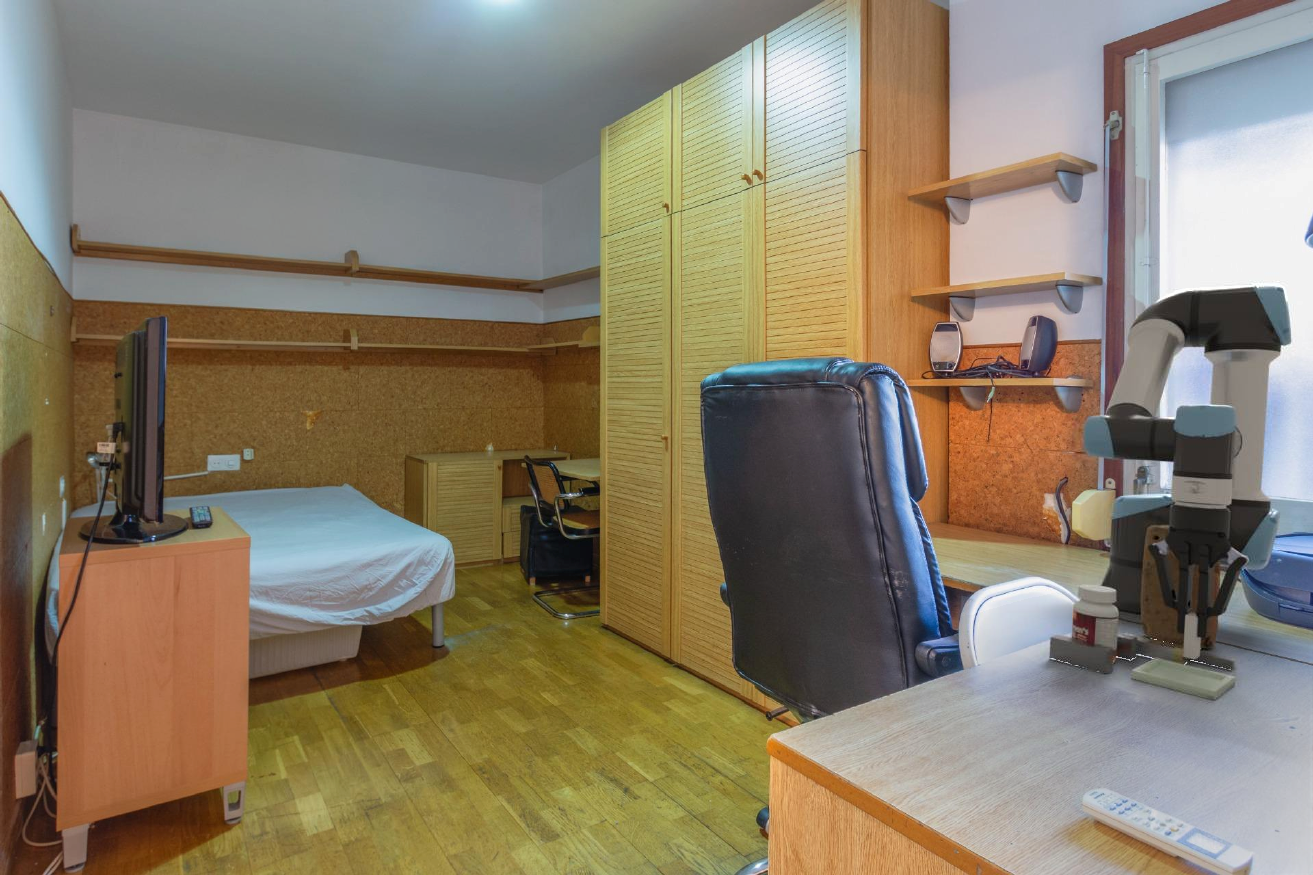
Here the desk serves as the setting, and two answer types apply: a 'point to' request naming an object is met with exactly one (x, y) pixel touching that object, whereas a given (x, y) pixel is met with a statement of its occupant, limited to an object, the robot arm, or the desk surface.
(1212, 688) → the tray
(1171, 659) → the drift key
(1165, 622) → the block
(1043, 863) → the desk surface
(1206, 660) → the rail
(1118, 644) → the socket
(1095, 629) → the pill bottle
